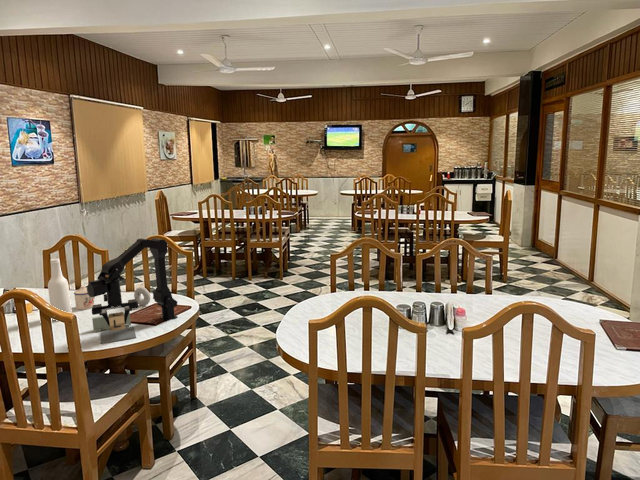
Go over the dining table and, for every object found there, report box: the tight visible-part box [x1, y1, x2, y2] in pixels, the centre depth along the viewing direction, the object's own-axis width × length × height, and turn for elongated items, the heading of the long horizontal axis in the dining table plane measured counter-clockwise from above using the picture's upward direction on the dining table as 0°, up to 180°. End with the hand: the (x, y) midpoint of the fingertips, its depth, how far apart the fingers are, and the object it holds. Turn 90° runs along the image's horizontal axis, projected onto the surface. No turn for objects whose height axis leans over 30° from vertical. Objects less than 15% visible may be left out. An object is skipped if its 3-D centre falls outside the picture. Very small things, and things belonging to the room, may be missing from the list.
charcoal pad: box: [100, 326, 137, 345], centre depth 213 cm, size 14×14×1 cm
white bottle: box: [47, 257, 73, 314], centre depth 234 cm, size 9×9×30 cm
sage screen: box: [91, 311, 132, 333], centre depth 222 cm, size 6×16×6 cm, turn 115°
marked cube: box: [108, 311, 126, 331], centre depth 212 cm, size 6×6×6 cm
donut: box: [133, 286, 151, 307], centre depth 252 cm, size 10×4×10 cm, turn 66°
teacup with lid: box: [73, 285, 96, 311], centre depth 252 cm, size 12×9×12 cm
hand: (117, 325), depth 212 cm, fingers closed on marked cube, 6 cm apart
